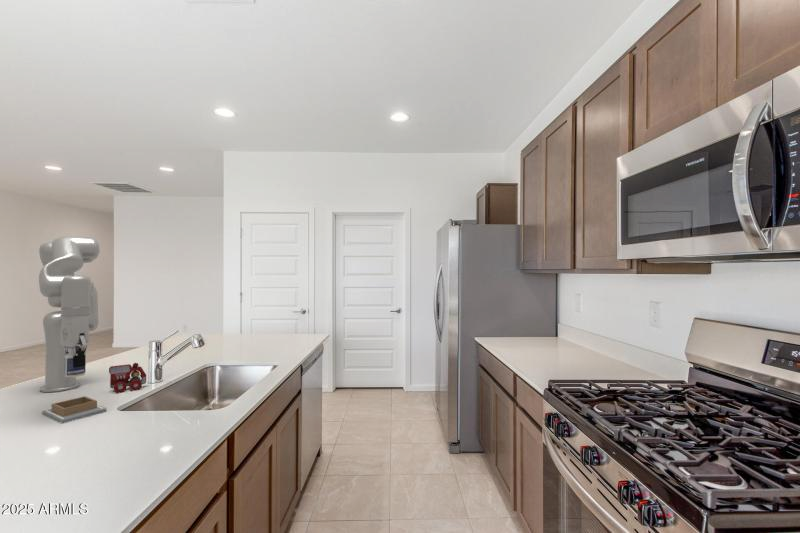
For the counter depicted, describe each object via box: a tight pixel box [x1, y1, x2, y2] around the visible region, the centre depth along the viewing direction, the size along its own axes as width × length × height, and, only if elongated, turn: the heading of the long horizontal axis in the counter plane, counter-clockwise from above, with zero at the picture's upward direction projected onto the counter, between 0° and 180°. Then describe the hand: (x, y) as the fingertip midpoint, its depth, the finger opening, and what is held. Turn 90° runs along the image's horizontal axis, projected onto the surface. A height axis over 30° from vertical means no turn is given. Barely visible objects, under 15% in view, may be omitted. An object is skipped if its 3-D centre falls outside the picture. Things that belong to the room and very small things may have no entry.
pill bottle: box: [65, 347, 87, 378], centre depth 129 cm, size 5×5×10 cm
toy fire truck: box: [108, 362, 147, 394], centre depth 155 cm, size 7×12×10 cm, turn 129°
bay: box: [41, 395, 107, 424], centre depth 129 cm, size 16×12×4 cm
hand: (75, 365), depth 129 cm, fingers closed on pill bottle, 5 cm apart
